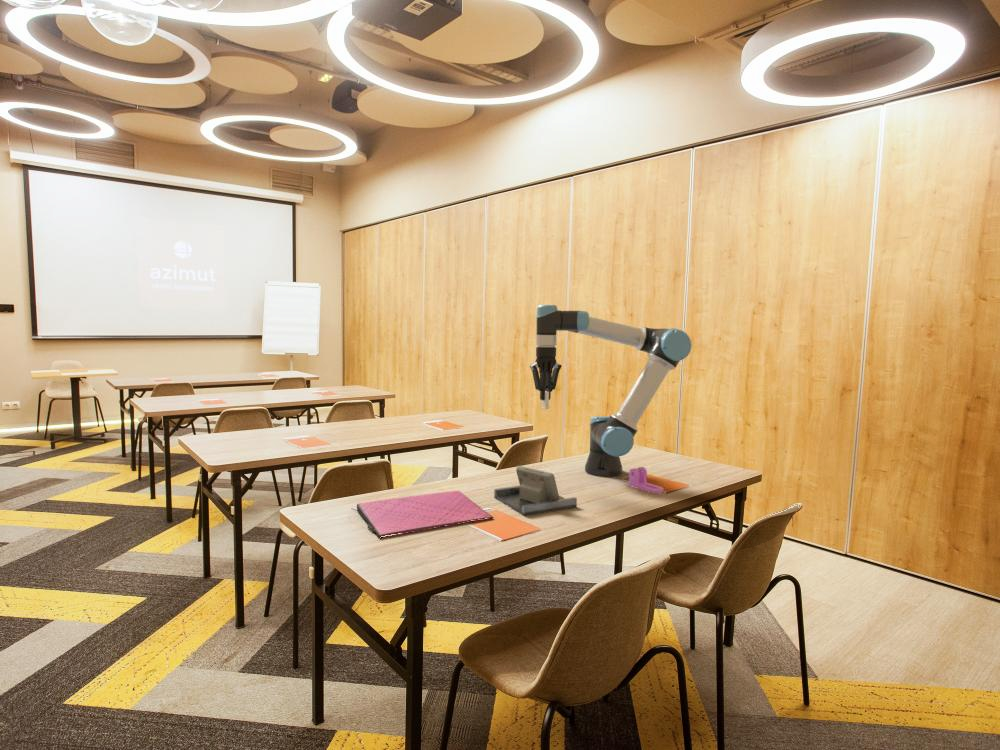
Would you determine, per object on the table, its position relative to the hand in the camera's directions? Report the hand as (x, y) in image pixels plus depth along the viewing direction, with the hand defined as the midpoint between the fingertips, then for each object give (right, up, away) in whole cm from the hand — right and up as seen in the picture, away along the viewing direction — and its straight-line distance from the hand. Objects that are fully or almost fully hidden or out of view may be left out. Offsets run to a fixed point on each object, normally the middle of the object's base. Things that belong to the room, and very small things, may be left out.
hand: (545, 408), depth 214 cm
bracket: (+37, -30, -5) cm, 48 cm away
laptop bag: (-43, -32, -37) cm, 65 cm away
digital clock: (-4, -30, -22) cm, 37 cm away
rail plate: (-5, -31, -22) cm, 38 cm away
